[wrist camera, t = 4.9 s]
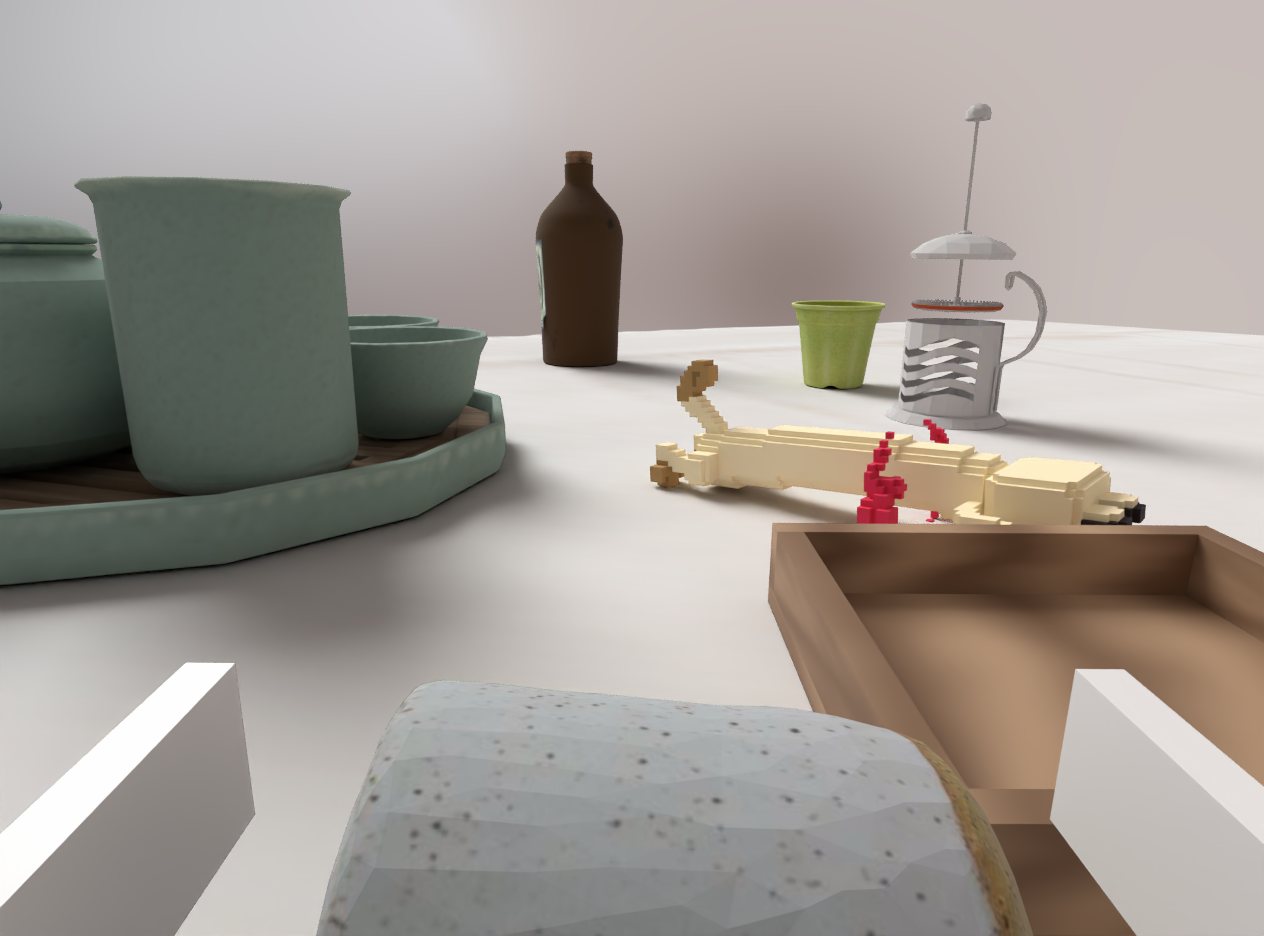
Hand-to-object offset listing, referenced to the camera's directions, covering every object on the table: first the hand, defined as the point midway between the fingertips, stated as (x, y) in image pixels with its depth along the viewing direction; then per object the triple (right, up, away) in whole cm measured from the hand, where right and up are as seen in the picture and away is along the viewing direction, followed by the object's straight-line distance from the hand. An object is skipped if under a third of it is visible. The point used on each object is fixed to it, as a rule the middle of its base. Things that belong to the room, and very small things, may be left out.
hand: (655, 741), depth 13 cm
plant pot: (+21, +13, +73) cm, 77 cm away
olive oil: (-7, +18, +89) cm, 91 cm away
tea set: (-29, +4, +39) cm, 48 cm away
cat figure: (+12, +1, +29) cm, 31 cm away
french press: (+27, +8, +56) cm, 63 cm away
